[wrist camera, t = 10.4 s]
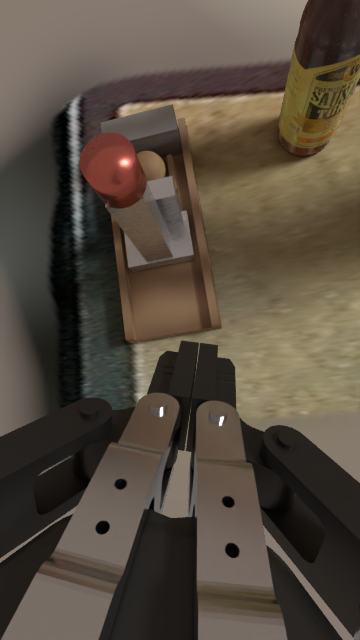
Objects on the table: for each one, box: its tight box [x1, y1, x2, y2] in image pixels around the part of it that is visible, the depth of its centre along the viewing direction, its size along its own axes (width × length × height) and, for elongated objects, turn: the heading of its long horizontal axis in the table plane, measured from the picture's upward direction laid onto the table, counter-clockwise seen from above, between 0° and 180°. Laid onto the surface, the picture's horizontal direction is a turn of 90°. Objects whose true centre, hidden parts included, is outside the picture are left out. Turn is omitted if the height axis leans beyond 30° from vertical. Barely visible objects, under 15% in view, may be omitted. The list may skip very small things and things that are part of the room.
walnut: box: [137, 151, 166, 181], centre depth 38 cm, size 4×4×4 cm
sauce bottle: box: [278, 0, 360, 155], centre depth 29 cm, size 6×6×20 cm
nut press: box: [101, 104, 222, 343], centre depth 37 cm, size 24×10×6 cm, turn 8°
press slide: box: [80, 133, 195, 272], centre depth 30 cm, size 6×7×16 cm
